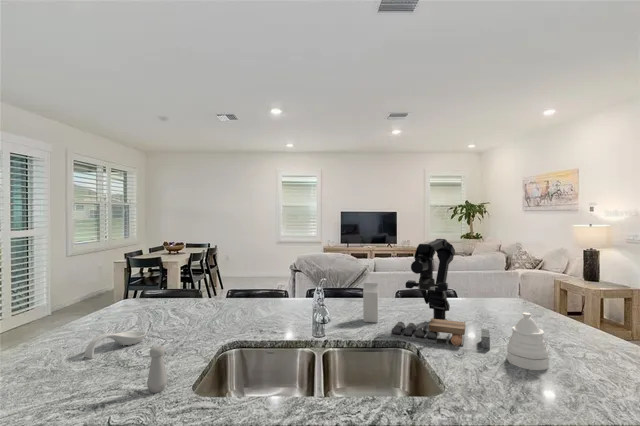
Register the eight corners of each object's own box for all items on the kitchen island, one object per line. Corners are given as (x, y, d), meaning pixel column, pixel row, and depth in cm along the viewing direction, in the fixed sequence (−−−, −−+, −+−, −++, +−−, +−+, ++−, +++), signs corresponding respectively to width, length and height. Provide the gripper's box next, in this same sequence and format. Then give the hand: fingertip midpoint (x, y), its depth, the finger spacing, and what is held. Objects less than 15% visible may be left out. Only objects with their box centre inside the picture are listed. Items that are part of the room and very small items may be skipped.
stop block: (481, 340, 146) (481, 328, 146) (489, 341, 145) (489, 329, 145) (481, 348, 137) (481, 336, 137) (490, 350, 136) (489, 337, 136)
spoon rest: (133, 337, 154) (133, 321, 155) (152, 340, 150) (152, 324, 150) (78, 356, 133) (78, 338, 133) (98, 361, 128) (98, 342, 128)
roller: (451, 335, 151) (454, 327, 151) (460, 339, 150) (463, 331, 149) (449, 343, 142) (452, 334, 142) (459, 347, 141) (462, 338, 140)
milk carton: (377, 322, 172) (377, 284, 172) (363, 322, 173) (363, 284, 173) (378, 318, 179) (377, 282, 179) (364, 318, 180) (364, 281, 180)
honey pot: (549, 373, 116) (548, 319, 116) (506, 364, 123) (505, 314, 123) (548, 359, 127) (547, 310, 127) (508, 352, 133) (507, 305, 134)
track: (397, 328, 163) (397, 320, 163) (464, 337, 150) (464, 328, 150) (390, 337, 151) (390, 328, 151) (463, 347, 139) (463, 337, 139)
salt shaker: (151, 385, 109) (151, 344, 109) (170, 384, 110) (170, 343, 110) (143, 395, 103) (143, 351, 103) (163, 394, 104) (163, 350, 104)
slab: (431, 324, 155) (431, 318, 155) (465, 328, 149) (465, 322, 149) (428, 330, 146) (428, 324, 146) (464, 335, 140) (464, 329, 140)
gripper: (402, 272, 159) (403, 306, 159) (445, 274, 151) (446, 310, 151) (407, 268, 169) (408, 300, 169) (447, 270, 161) (448, 303, 161)
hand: (426, 303), depth 162 cm, fingers closed
